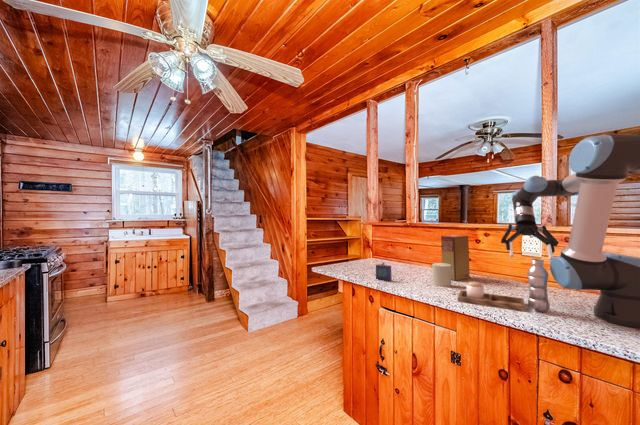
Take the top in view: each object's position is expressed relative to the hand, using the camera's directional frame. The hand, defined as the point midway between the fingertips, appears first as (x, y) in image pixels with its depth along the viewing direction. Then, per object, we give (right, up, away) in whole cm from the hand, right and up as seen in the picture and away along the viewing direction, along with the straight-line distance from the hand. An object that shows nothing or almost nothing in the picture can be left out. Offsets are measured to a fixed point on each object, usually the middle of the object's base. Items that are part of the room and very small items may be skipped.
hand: (530, 257), depth 114 cm
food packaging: (-11, -19, +42) cm, 48 cm away
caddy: (-19, -19, -2) cm, 27 cm away
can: (-26, -20, +26) cm, 42 cm away
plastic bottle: (-5, -19, -10) cm, 22 cm away
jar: (-23, -19, +1) cm, 30 cm away
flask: (-54, -20, +41) cm, 71 cm away
